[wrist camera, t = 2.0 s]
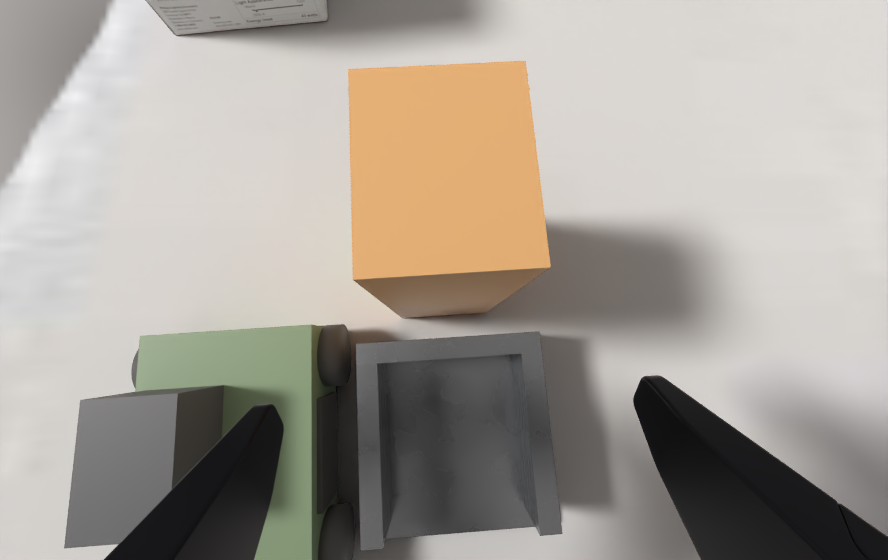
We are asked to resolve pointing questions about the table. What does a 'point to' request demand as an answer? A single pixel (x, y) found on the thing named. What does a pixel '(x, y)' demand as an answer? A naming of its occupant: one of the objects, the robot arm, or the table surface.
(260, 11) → the light bulb box
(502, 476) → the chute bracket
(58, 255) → the table surface
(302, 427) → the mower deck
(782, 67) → the table surface
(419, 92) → the tan rectangular block
